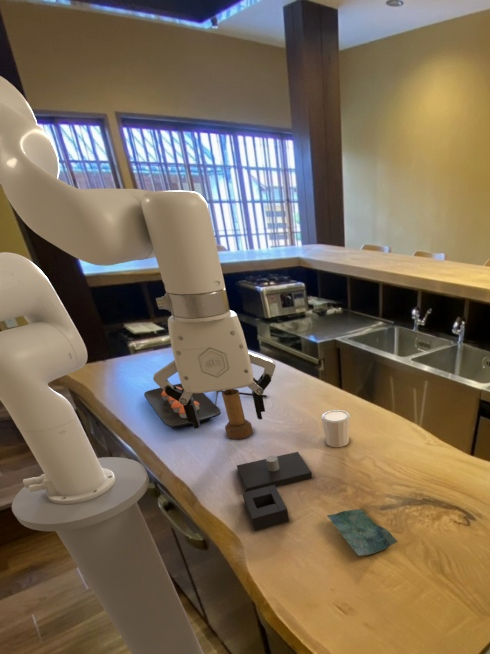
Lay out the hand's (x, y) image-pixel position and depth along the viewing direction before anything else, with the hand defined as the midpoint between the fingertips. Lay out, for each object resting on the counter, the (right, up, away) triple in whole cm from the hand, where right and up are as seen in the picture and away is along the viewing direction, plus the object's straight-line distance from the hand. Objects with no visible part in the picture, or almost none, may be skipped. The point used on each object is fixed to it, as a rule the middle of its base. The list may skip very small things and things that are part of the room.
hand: (228, 420), depth 68 cm
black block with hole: (+2, -15, +15) cm, 21 cm away
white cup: (+13, +3, +38) cm, 40 cm away
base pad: (+1, -6, +26) cm, 26 cm away
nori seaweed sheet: (+21, -19, +10) cm, 30 cm away
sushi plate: (-26, +18, +56) cm, 65 cm away
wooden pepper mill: (-12, +5, +41) cm, 43 cm away
